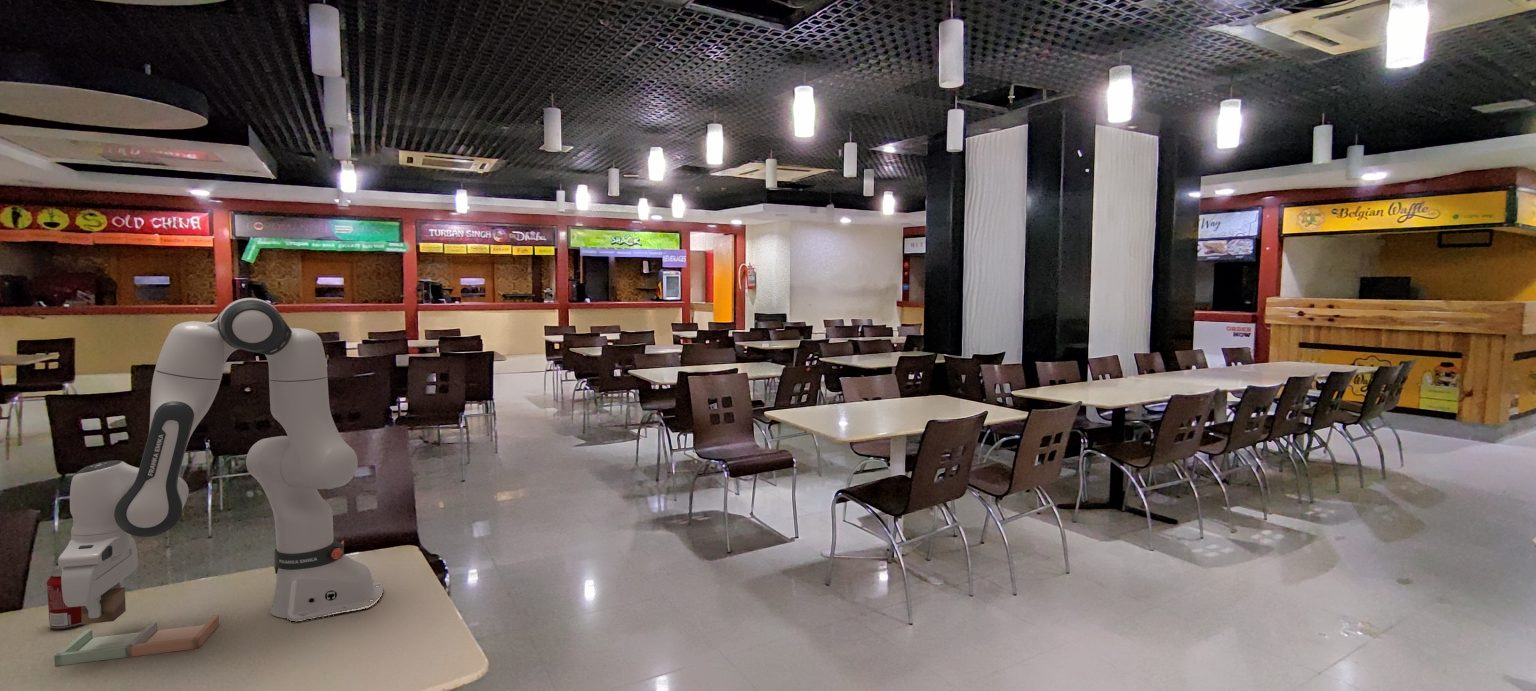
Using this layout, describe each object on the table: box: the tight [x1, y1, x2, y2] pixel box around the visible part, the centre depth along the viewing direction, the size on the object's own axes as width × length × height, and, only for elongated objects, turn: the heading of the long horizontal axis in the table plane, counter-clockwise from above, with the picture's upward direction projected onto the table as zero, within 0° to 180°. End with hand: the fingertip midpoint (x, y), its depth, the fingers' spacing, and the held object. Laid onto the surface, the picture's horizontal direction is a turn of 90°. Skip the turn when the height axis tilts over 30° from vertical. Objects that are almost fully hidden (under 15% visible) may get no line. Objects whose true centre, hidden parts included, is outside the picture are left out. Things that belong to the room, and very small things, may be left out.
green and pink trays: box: [53, 614, 220, 667], centre depth 148 cm, size 23×11×2 cm, turn 109°
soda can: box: [46, 567, 82, 630], centre depth 155 cm, size 7×7×12 cm
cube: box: [81, 586, 127, 626], centre depth 146 cm, size 5×5×5 cm
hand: (104, 609), depth 146 cm, fingers closed on cube, 5 cm apart
